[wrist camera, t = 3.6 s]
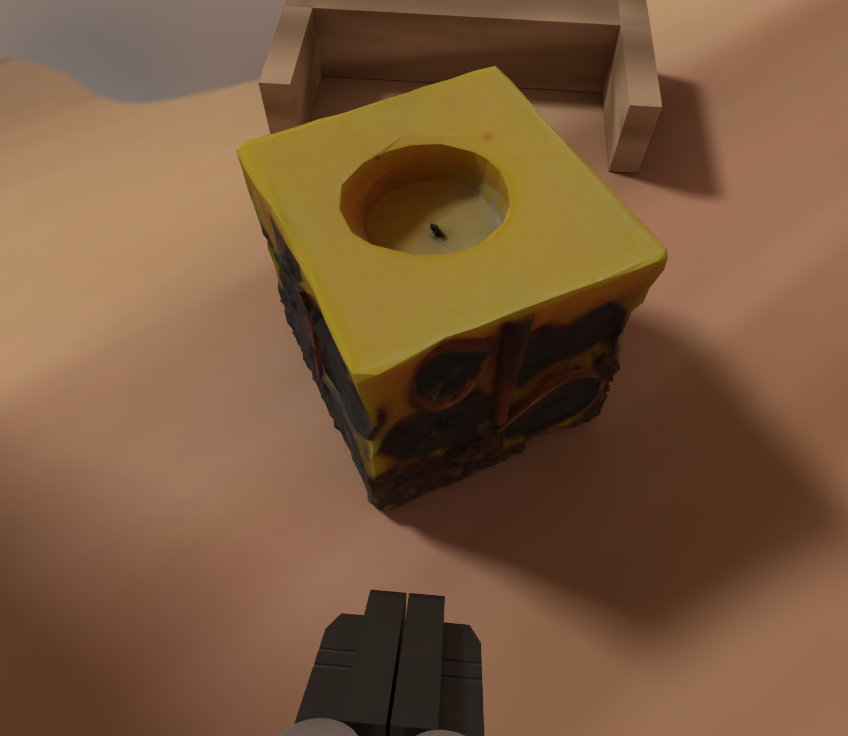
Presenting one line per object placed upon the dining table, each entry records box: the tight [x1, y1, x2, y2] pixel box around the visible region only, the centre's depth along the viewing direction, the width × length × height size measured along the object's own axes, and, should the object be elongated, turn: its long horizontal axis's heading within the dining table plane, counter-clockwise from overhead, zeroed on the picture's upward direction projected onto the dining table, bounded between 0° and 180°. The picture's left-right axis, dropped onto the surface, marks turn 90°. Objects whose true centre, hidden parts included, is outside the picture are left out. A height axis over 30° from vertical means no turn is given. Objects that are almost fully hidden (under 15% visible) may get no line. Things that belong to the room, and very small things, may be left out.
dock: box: [259, 0, 662, 173], centre depth 35 cm, size 9×19×4 cm, turn 85°
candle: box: [236, 66, 668, 511], centre depth 24 cm, size 10×10×10 cm
